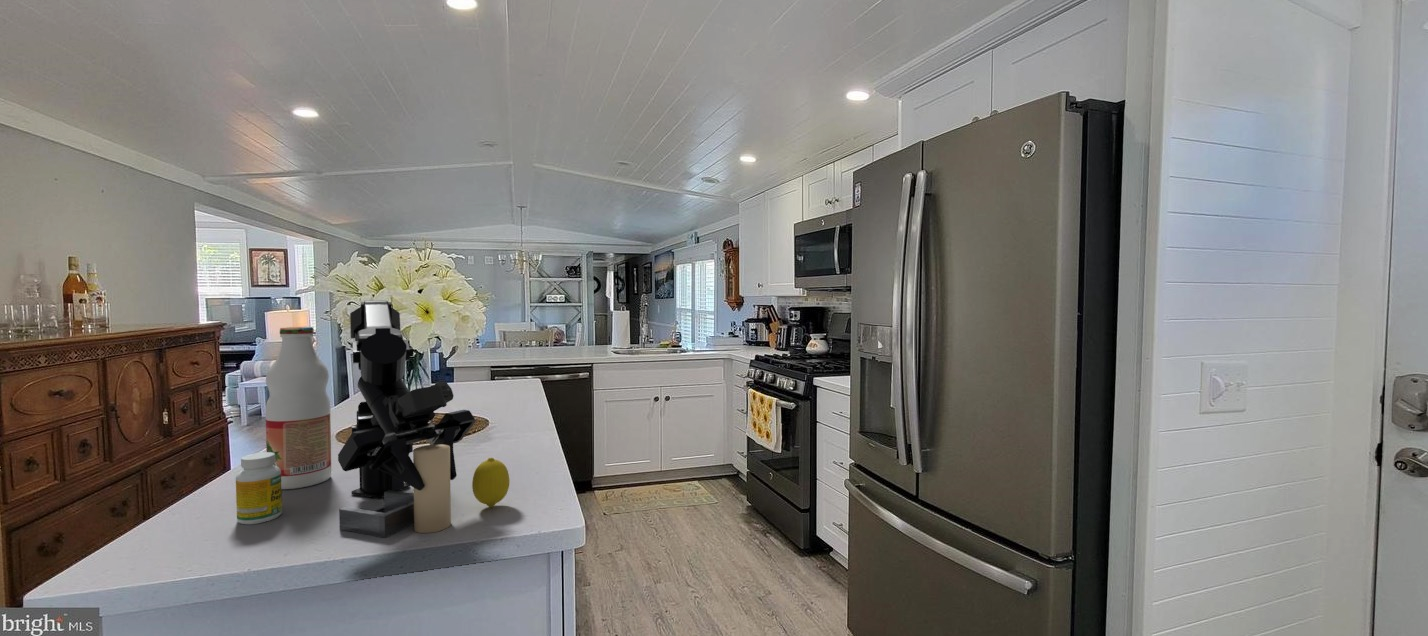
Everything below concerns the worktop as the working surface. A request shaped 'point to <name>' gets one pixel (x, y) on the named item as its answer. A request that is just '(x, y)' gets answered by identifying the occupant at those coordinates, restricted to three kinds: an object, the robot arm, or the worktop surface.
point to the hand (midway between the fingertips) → (438, 483)
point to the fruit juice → (299, 411)
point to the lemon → (490, 482)
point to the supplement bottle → (258, 489)
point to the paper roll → (432, 488)
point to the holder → (380, 516)
